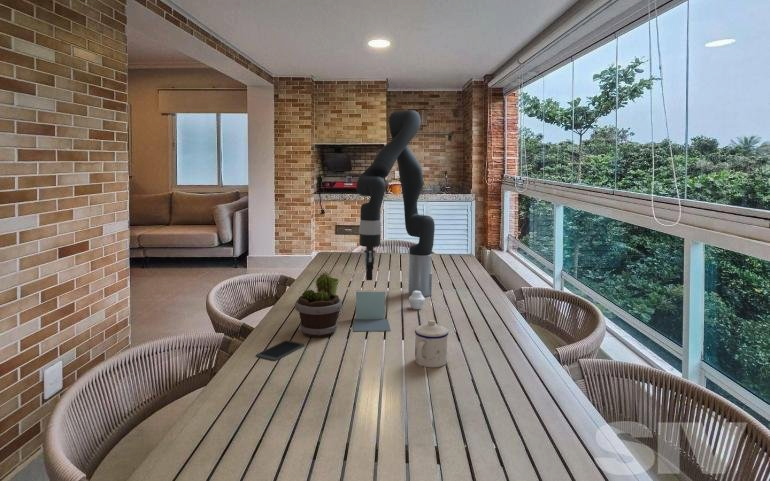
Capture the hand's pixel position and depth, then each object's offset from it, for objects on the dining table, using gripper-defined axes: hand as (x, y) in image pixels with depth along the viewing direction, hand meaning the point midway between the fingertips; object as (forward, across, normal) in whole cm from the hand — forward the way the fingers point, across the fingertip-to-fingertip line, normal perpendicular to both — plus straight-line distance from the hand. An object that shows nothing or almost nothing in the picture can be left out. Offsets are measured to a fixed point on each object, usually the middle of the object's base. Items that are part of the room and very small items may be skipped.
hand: (369, 279), depth 176 cm
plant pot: (+12, +14, +16) cm, 24 cm away
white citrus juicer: (+12, +4, -18) cm, 22 cm away
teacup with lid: (+12, -48, -14) cm, 51 cm away
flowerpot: (+13, -22, +17) cm, 30 cm away
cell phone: (+13, -37, +27) cm, 47 cm away
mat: (+12, -15, 0) cm, 20 cm away
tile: (+12, -8, 0) cm, 14 cm away
